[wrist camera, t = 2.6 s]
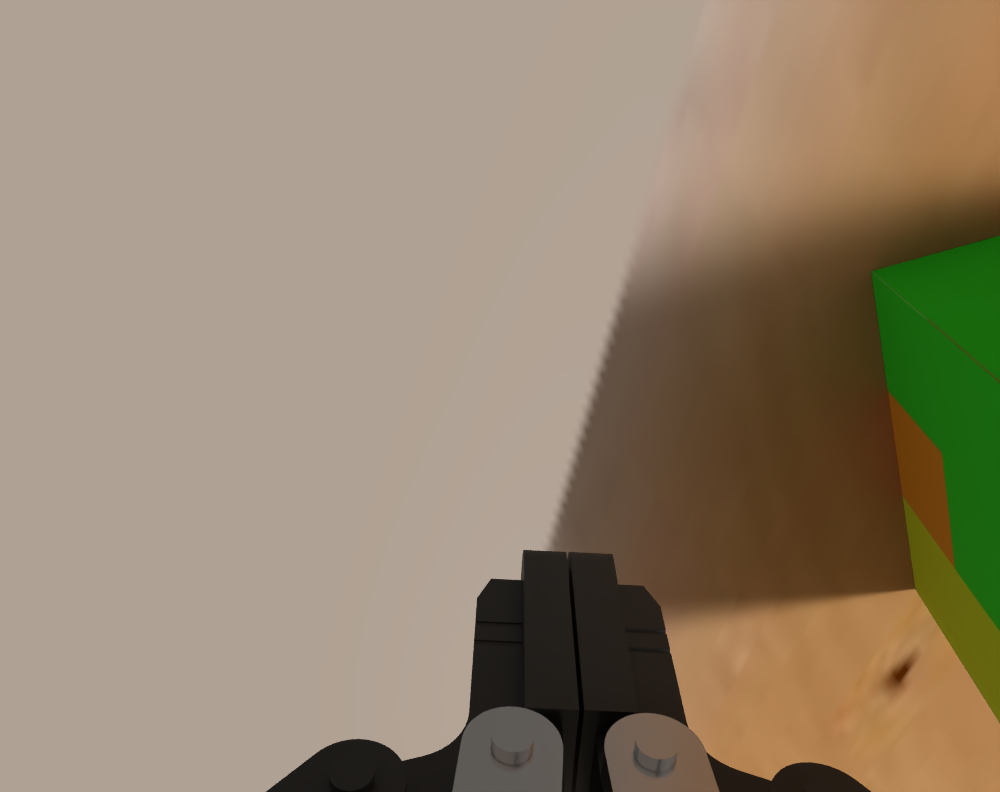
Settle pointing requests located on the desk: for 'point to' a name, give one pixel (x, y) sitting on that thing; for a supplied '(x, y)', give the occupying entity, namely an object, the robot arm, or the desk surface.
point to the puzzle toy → (949, 439)
